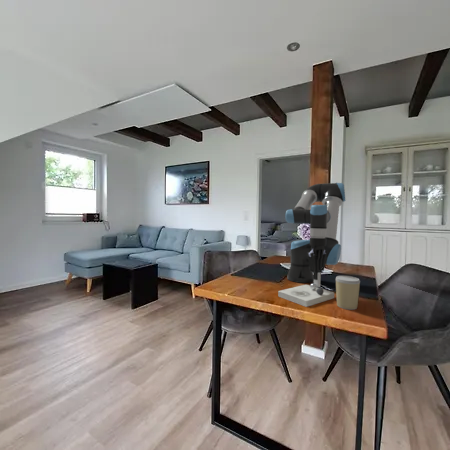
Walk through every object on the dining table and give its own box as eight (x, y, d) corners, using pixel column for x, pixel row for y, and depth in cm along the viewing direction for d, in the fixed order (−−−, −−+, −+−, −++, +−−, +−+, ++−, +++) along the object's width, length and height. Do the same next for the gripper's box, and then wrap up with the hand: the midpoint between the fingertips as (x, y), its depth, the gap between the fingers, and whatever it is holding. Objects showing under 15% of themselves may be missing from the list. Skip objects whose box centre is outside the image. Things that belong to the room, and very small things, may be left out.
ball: (319, 293, 117) (319, 286, 117) (324, 294, 115) (325, 288, 114) (315, 294, 115) (315, 287, 115) (320, 296, 113) (320, 289, 113)
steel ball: (313, 287, 124) (312, 281, 124) (319, 288, 122) (317, 282, 121) (309, 290, 123) (308, 284, 122) (314, 292, 120) (313, 286, 119)
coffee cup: (351, 302, 113) (352, 275, 112) (364, 310, 103) (365, 281, 103) (331, 302, 112) (331, 275, 112) (341, 310, 103) (342, 281, 102)
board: (305, 289, 131) (305, 284, 131) (334, 298, 118) (334, 292, 118) (278, 296, 120) (278, 291, 120) (306, 306, 107) (306, 301, 107)
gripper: (319, 236, 129) (318, 282, 130) (302, 237, 121) (301, 286, 122) (333, 237, 123) (331, 285, 124) (316, 238, 115) (315, 290, 116)
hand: (316, 285), depth 123 cm, fingers closed
